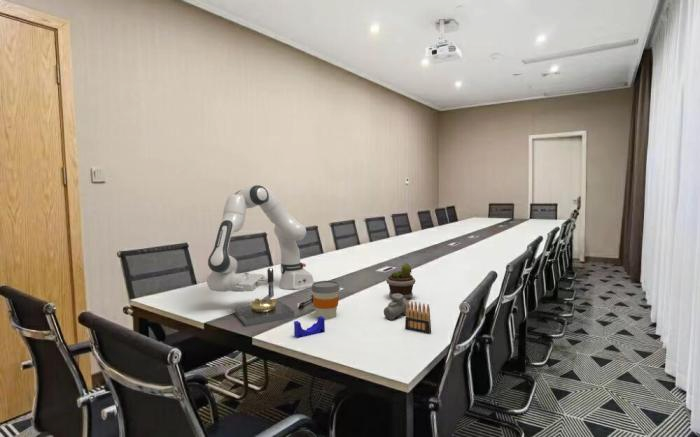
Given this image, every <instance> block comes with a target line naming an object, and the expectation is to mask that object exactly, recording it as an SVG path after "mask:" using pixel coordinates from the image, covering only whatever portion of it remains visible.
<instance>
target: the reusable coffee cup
mask: <svg viewBox="0 0 700 437" xmlns="http://www.w3.org/2000/svg"><path fill="white" fill-rule="evenodd" d="M311 291H312V302H313V307H314V309H315V310H314V311H315V316H316V318H317V319H318V317H320V316H322V317H323V318H325V320H331V319H334V318H336V316H337V310H338V305H339V298H340V295H339V292H340V283H339V282H338V281H335V280H319V281H315V283H313V284H312V286H311Z"/></svg>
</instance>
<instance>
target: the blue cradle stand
mask: <svg viewBox="0 0 700 437" xmlns="http://www.w3.org/2000/svg"><path fill="white" fill-rule="evenodd" d="M325 320H326V319H325V318H323V317H322V316H320V317H318V318H317V320H316V322H314V323H313V324H312V325H311V326H310V327H307V328H306V329H303V327H302V324H301V322H300V321H298V320H295V321H293V328H294V329H293V331H294V334H293V335H294V337H295V338H296V339H300V338H305V337H309V336H314V335H318V334H322V333H325V332H326V326H325Z"/></svg>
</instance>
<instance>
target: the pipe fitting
mask: <svg viewBox="0 0 700 437" xmlns="http://www.w3.org/2000/svg"><path fill="white" fill-rule="evenodd" d="M391 299H392V300H391V301H389V303H388V304H387V306H385V307H384V309H383V316H384V317H385V318H386V319H388V320H394V319H395V318H397V317H398V316H400V315H401V316H402V315H404V316H405V315H406V307H407V301H408V300H407V299H405V298H403V295H402V294H398V293H396V294H393V295H392V297H391ZM410 305H411V303H409V307H410Z"/></svg>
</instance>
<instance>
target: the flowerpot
mask: <svg viewBox="0 0 700 437" xmlns="http://www.w3.org/2000/svg"><path fill="white" fill-rule="evenodd" d="M408 262H409V261H407V262H406V263H403V264H402V266H401V269H398V270H394V271H392V273H391V275H388V277H387V278H386V280H385V282H386V284H387V285H388V288H389V296H390V297H391V298H392V295H393V294H396V293H398V294H402V295H403V298H405V299H407V301H409V300H410V299H412V297H413V295H414V294H413V287H414V285H415V283H416V279H415V278H414V277H413V275H412V272H413V268H412V267H413V266H411V265H410V263H408Z"/></svg>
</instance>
